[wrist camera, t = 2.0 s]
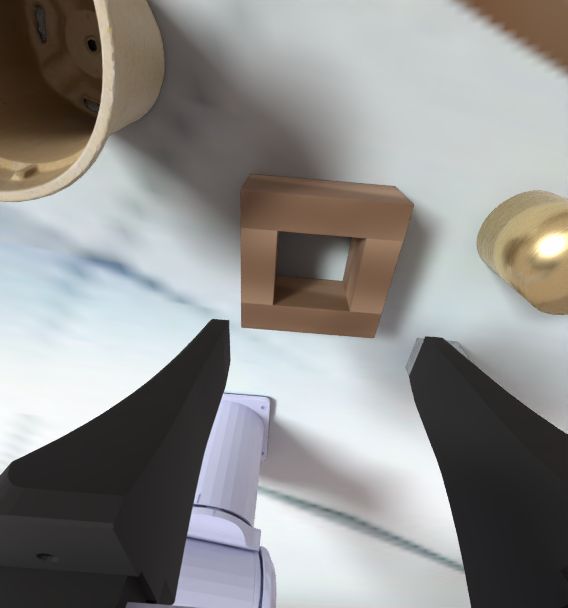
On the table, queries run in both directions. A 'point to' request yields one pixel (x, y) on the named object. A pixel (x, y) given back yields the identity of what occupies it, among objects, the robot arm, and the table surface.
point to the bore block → (325, 221)
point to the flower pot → (70, 87)
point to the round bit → (530, 247)
